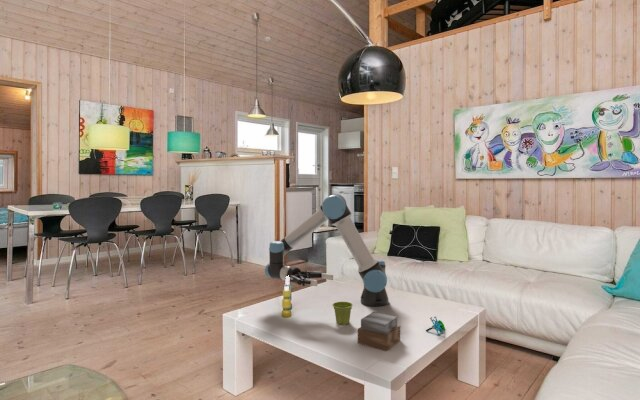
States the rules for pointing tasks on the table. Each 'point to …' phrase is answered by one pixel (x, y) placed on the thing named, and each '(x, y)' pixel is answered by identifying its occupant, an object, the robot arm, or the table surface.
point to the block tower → (379, 331)
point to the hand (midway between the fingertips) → (325, 280)
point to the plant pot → (342, 312)
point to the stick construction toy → (438, 326)
